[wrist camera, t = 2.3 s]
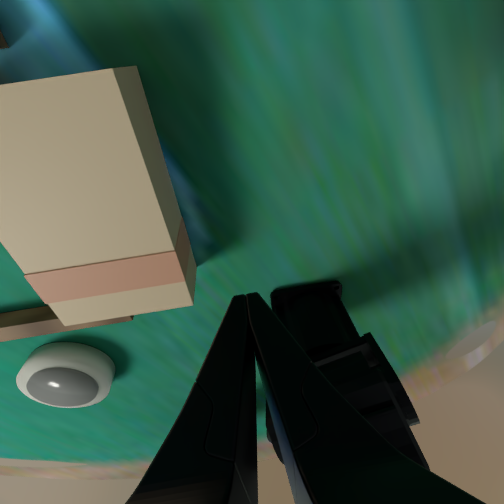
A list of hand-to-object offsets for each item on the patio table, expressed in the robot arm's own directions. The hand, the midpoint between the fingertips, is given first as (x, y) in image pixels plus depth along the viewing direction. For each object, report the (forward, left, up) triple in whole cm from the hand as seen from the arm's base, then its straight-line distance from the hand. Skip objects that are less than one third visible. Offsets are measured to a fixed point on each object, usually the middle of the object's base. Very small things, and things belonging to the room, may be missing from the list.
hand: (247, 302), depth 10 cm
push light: (+19, +17, -12) cm, 28 cm away
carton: (+9, 0, -12) cm, 15 cm away
